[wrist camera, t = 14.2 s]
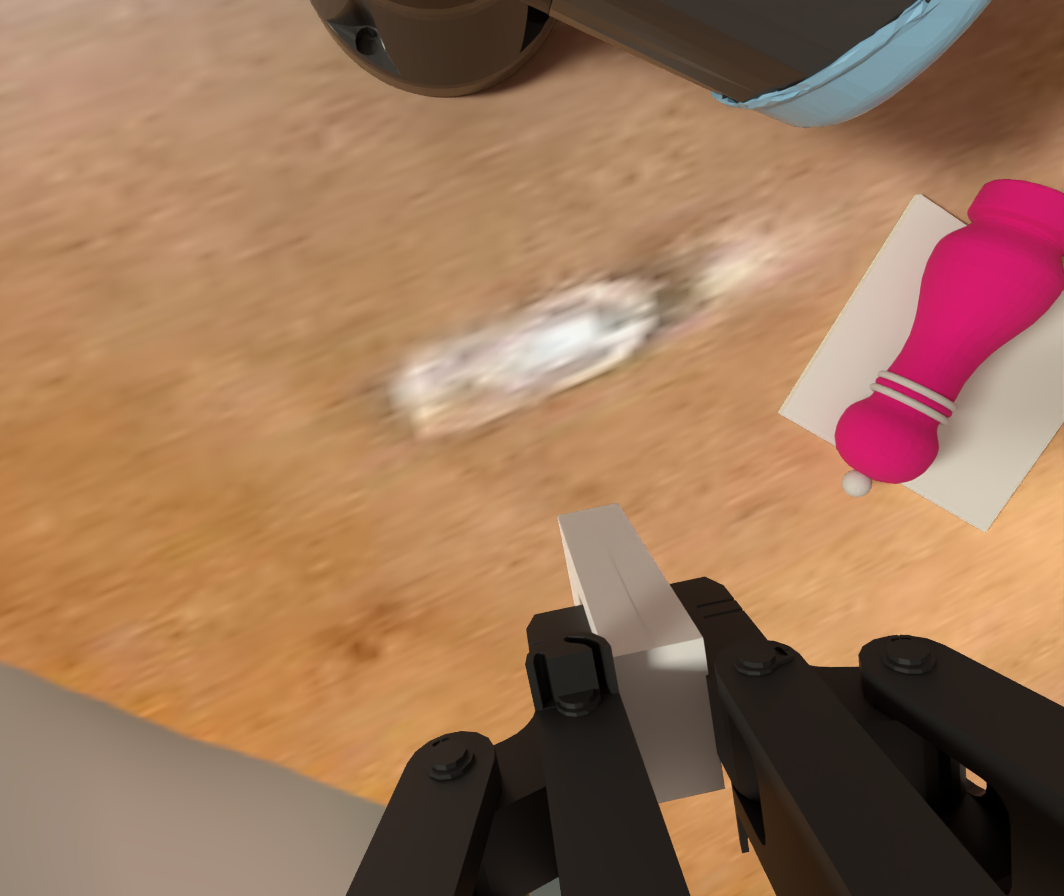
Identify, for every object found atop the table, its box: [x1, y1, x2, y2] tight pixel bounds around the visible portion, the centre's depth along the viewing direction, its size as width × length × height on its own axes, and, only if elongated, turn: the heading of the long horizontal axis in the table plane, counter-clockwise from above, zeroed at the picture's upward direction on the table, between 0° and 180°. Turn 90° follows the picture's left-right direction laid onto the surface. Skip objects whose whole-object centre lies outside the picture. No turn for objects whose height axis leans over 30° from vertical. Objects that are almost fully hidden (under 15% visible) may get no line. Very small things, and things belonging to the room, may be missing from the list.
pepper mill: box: [834, 179, 1064, 497], centre depth 43 cm, size 7×7×20 cm
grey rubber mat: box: [778, 194, 1064, 532], centre depth 47 cm, size 16×18×1 cm
